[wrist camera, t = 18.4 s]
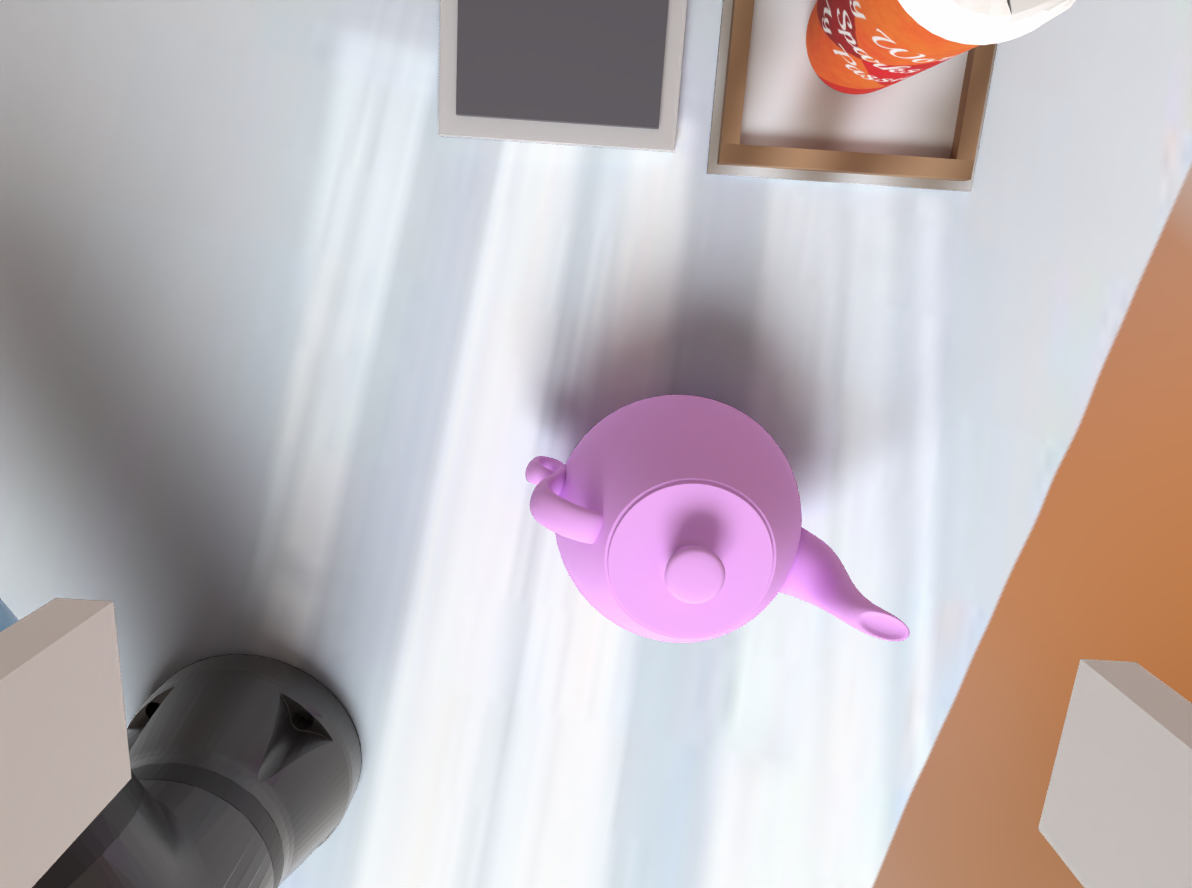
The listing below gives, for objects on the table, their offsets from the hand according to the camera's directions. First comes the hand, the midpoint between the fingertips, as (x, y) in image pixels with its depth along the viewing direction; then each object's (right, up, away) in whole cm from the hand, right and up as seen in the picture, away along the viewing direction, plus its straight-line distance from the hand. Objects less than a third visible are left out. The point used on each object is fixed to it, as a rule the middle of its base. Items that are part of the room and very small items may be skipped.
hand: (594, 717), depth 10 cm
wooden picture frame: (+14, +26, +29) cm, 42 cm away
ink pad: (-2, +27, +29) cm, 40 cm away
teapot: (+5, 0, +36) cm, 36 cm away
